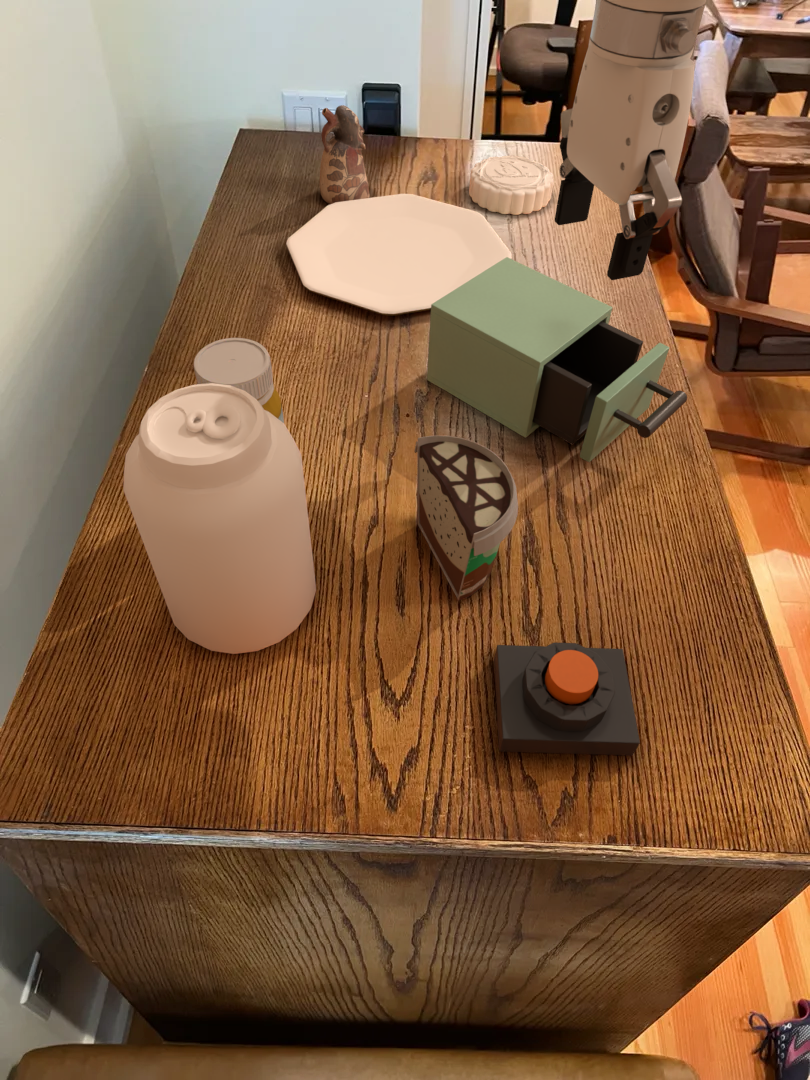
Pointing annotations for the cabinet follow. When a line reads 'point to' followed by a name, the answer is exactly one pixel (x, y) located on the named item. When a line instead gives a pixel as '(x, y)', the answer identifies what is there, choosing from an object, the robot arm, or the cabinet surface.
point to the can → (223, 517)
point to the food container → (463, 507)
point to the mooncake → (510, 185)
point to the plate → (393, 252)
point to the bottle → (240, 370)
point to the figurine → (342, 158)
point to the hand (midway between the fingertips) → (596, 247)
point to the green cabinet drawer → (603, 389)
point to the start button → (571, 677)
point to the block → (562, 704)
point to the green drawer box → (505, 338)
